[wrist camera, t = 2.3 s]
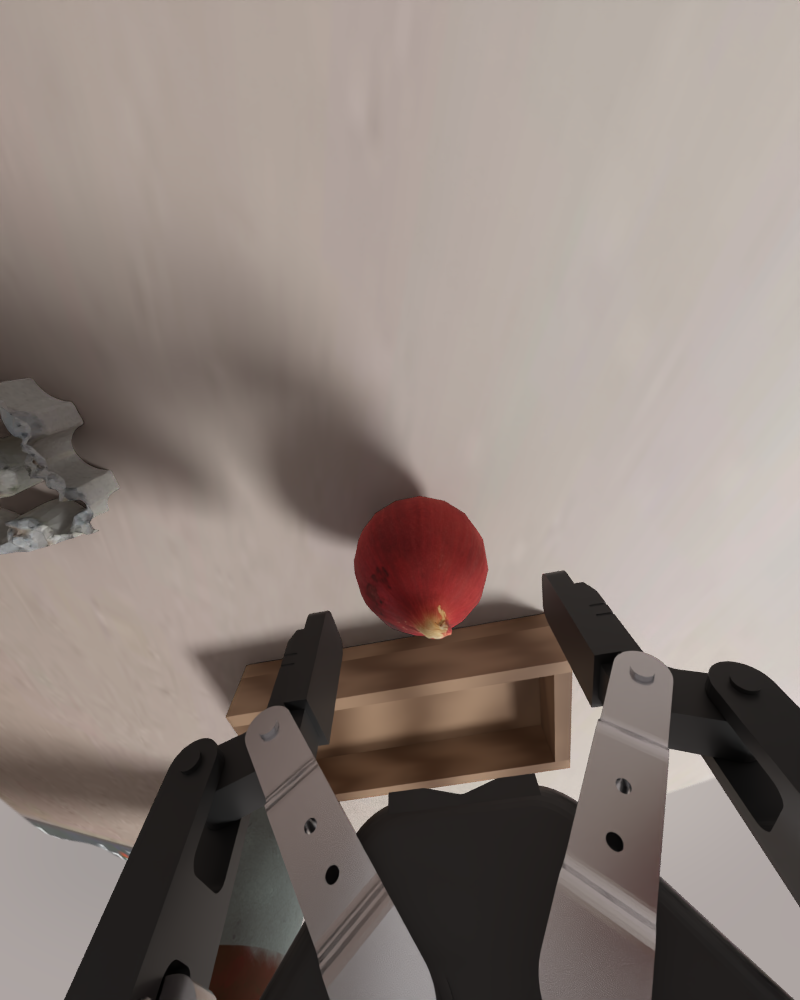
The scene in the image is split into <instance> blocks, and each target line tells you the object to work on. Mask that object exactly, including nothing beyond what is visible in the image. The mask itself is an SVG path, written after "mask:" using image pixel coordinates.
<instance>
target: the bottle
mask: <svg viewBox="0 0 800 1000" xmlns="http://www.w3.org/2000/svg"><path fill="white" fill-rule="evenodd" d="M302 921H303V913H302V910H301V908H300V905H299V902H298V899H297V897H296V894H295V891H294V888H293V885H292V883H291V880H290V877H289V874H288V872H287V869H286V866H285V863H284V860H283V858H282V855H281V852H280V849H279V846H278V844H277V841H276V838H275V835H274V833H273V830H272V827H271V824H270V821H269V819H268V816H267V813H266V810H265V806H263V807H261V808H259V809H257V810H255V811H253V812H252V813H251V816H250V820H249V824H248V828H247V832H246V837H245V841H244V845H243V849H242V853H241V857H240V861H239V865H238V870H237V874H236V878H235V882H234V886H233V890H232V894H231V898H230V902H229V907H228V911H227V915H226V919H225V923H224V927H223V931H222V935H221V940H220V944H219V948H218V952H217V956H216V960H215V964H214V968H213V973H212V977H211V981H210V985H209V990H210V991H212V993H213V994H214V995H215V997H216V1000H259V999H260V997H261V996H262V994H263V992H264V990H265V989H266V987H267V985H268V984H269V982H270V980H271V978H272V977H273V975H274V973H275V971H276V970H277V968H278V966H279V965H280V963H281V961H282V959H283V958H284V956H285V954H286V953H287V951H288V949H289V947H290V946H291V944H292V942H293V940H294V939H295V937H296V935H297V934H298V932H299V930H300V928H301V924H302Z"/></svg>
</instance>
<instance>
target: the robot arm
mask: <svg viewBox="0 0 800 1000" xmlns="http://www.w3.org/2000/svg"><path fill="white" fill-rule="evenodd" d="M542 594H543V609H544V613H545V617H546V619H547V622H548V624H549V626H550V628H551V630H552V632H553V634H554V636H555V638H556V639H557V641H558V643H559V645H560V647H561V649H562V651H563V653H564V655H565V657H566V659H567V661H568V663H569V665H570V667H571V669H572V670H573V672H574V674H575V676H576V678H577V680H578V682H579V684H580V686H581V688H582V690H583V692H584V694H585V696H586V698H587V700H588V701H589V703H590V705H591V707H599V706H603V709H602V713H601V717H600V719H598V722H597V725H596V729H595V733H594V737H593V741H592V746H591V750H590V754H589V758H588V763H587V767H586V771H585V775H584V779H583V784H582V788H581V792H580V796H579V800H578V802H577V801H576V800H574V799H572V798H571V797H569V796H567V795H565V794H563V793H561V792H559V791H557V790H554V789H551V788H548V787H544V786H538V783H537V780H536V777H535V773H532V774H524V775H517V776H509V777H502V778H497V779H495V780H493V781H490V782H488V783H486V784H484V785H482V786H480V787H478V788H476V789H473V790H471V791H469V792H467V793H465V794H455V793H449V792H444V791H438V790H432V789H427V788H419V789H411V790H404V791H396V792H389V801H388V806H386V807H384V808H383V809H381V810H380V811H378V812H377V813H375V814H374V815H373V816H372V817H370V818H369V819H368V820H367V821H366V822H365V823H364V825H363V826H362V827H361V828H360V829H359V831H358V832H357V833H356V832H355V830H354V828H353V826H352V825H351V823H350V821H349V819H348V817H347V815H346V814H345V812H344V810H343V808H342V806H341V804H340V803H339V801H338V799H337V797H336V795H335V793H334V792H333V790H332V788H331V786H330V784H329V782H328V781H327V779H326V777H325V775H324V773H323V771H322V770H321V768H320V766H319V764H318V762H317V760H316V755H317V750H318V746H322V745H329V743H330V736H331V730H332V723H333V716H334V710H335V703H336V696H337V690H338V683H339V676H340V670H341V663H342V656H343V646H342V640H341V637H340V635H339V632H338V630H337V627H336V624H335V622H334V619H333V617H332V614H331V612H330V611H324V612H318V613H312V614H309V615H308V618H307V621H306V624H305V628H304V629H302V630H297V631H296V632H295V634H294V635H293V636H292V638H291V639H290V640H289V642H288V644H287V647H286V651H285V654H284V657H283V660H282V663H281V668H280V669H279V672H278V675H277V678H276V681H275V684H274V687H273V690H272V693H271V697H270V700H269V703H268V706H267V708H266V709H265V710H264V711H262V712H261V713H260V714H258V715H257V716H256V717H255V718H254V720H253V721H252V722H251V724H250V725H249V727H248V729H247V731H246V732H245V733H243V734H241V735H239V736H237V737H235V738H233V739H231V740H229V741H226V742H224V743H222V744H220V745H217V744H216V743H215V741H213V740H212V739H209V738H204V739H199V740H197V741H195V742H193V743H191V744H190V745H188V746H187V747H185V748H184V749H183V750H182V751H181V752H180V753H179V754H178V755H177V757H176V758H175V759H174V761H173V762H172V764H171V766H170V767H169V770H168V772H167V774H166V776H165V778H164V781H163V783H162V785H161V787H160V789H159V792H158V794H157V796H156V798H155V800H154V803H153V805H152V807H151V809H150V811H149V814H148V816H147V818H146V820H145V822H144V825H143V827H142V829H141V831H140V833H139V836H138V838H137V840H136V842H135V845H134V847H133V849H132V851H131V853H130V856H129V858H128V860H127V862H126V864H125V867H124V869H123V871H122V873H121V875H120V878H119V880H118V882H117V884H116V887H115V889H114V891H113V893H112V895H111V897H110V900H109V902H108V904H107V906H106V908H105V911H104V913H103V915H102V917H101V920H100V922H99V924H98V926H97V928H96V931H95V933H94V935H93V937H92V940H91V942H90V944H89V946H88V948H87V950H86V953H85V955H84V957H83V959H82V962H81V964H80V966H79V968H78V970H77V972H76V975H75V977H74V979H73V981H72V983H71V986H70V988H69V990H68V993H67V994H66V997H65V999H64V1000H216V997H215V995H214V994H213V993H212V991H210V990H209V985H210V981H211V977H212V973H213V968H214V964H215V960H216V956H217V952H218V948H219V944H220V940H221V935H222V931H223V927H224V923H225V919H226V915H227V911H228V907H229V902H230V898H231V894H232V890H233V886H234V882H235V878H236V874H237V870H238V865H239V861H240V857H241V853H242V849H243V845H244V841H245V837H246V832H247V828H248V824H249V820H250V816H251V813H252V812H253V811H255V810H257V809H259V808H261V807H263V806H265V810H266V813H267V816H268V819H269V821H270V824H271V827H272V830H273V833H274V835H275V838H276V841H277V844H278V846H279V849H280V852H281V855H282V858H283V860H284V863H285V866H286V869H287V872H288V874H289V877H290V880H291V883H292V885H293V888H294V891H295V894H296V897H297V899H298V902H299V905H300V908H301V910H302V913H303V916H304V919H305V922H304V923H303V925H302V927H301V928H300V930H299V932H298V934H297V935H296V937H295V939H294V940H293V942H292V944H291V946H290V947H289V949H288V951H287V953H286V954H285V956H284V958H283V959H282V961H281V963H280V965H279V966H278V968H277V970H276V971H275V973H274V975H273V977H272V978H271V980H270V982H269V984H268V985H267V987H266V989H265V990H264V992H263V994H262V996H261V997H260V999H259V1000H794V999H793V998H792V997H791V996H790V995H789V994H787V993H786V992H785V991H784V990H783V989H782V988H781V987H780V986H779V985H778V984H777V983H776V982H774V981H773V980H772V979H771V978H770V977H769V976H768V975H767V974H766V973H765V972H763V970H761V969H760V968H759V967H758V966H757V965H756V964H755V963H754V962H753V961H752V960H751V959H749V958H748V957H747V956H746V955H745V954H744V953H743V952H742V951H741V950H740V949H739V948H738V947H736V946H735V945H734V944H733V943H732V942H731V941H730V940H729V939H728V938H726V936H724V935H723V934H722V933H721V932H720V931H719V930H718V929H717V928H716V927H715V926H714V925H713V924H711V923H710V922H709V921H708V920H707V919H706V918H705V917H704V916H703V915H702V914H700V913H699V912H698V911H697V910H696V909H695V908H694V907H693V906H692V905H691V904H690V903H689V902H687V901H686V900H685V899H684V898H683V897H682V896H681V895H680V894H679V893H678V892H677V891H676V890H674V889H673V888H672V887H671V886H670V885H669V884H668V883H667V882H666V881H664V880H663V878H661V877H660V865H661V852H662V839H663V827H664V814H665V801H666V789H667V777H668V764H669V749H674V750H679V751H685V752H690V753H695V754H700V755H701V756H702V757H703V759H704V760H705V762H706V763H707V765H708V766H709V768H710V769H711V771H712V773H713V774H714V776H715V777H716V779H717V780H718V782H719V783H720V785H721V786H722V788H723V789H724V791H725V793H726V794H727V796H728V797H729V799H730V800H731V802H732V803H733V805H734V806H735V808H736V810H737V811H738V813H739V814H740V816H741V817H742V819H743V820H744V822H745V823H746V825H747V826H748V828H749V830H750V831H751V833H752V834H753V836H754V837H755V839H756V840H757V842H758V843H759V845H760V846H761V848H762V850H763V851H764V853H765V854H766V856H767V857H768V859H769V860H770V862H771V863H772V865H773V866H774V868H775V870H776V871H777V872H778V874H779V876H780V877H781V879H782V880H783V882H784V883H785V885H786V886H787V888H788V890H789V891H790V892H791V894H792V896H793V897H794V899H795V900H796V902H797V903H798V905H799V907H800V708H799V707H798V706H797V705H796V704H795V703H794V702H793V701H792V700H791V699H790V698H789V697H788V696H787V695H786V694H785V693H784V692H783V691H782V690H781V689H780V687H779V686H778V685H777V684H776V683H775V682H774V681H772V680H771V679H770V678H769V677H768V676H766V675H765V674H764V673H762V672H760V671H759V670H757V669H755V668H753V667H750V666H748V665H745V664H741V663H737V662H729V661H726V662H718V663H716V664H714V665H712V666H711V668H710V669H709V672H708V673H702V672H694V671H686V670H678V669H674V668H670V667H667V666H666V665H665V664H664V663H663V662H661V661H660V660H659V659H657V658H656V657H654V656H652V655H650V654H647V653H644V652H643V651H642V650H641V649H640V647H639V646H638V645H637V643H636V642H635V641H634V639H633V638H632V637H631V635H630V634H629V633H628V631H627V630H626V629H625V627H624V626H623V625H622V624H621V622H620V621H619V620H618V618H617V617H616V616H615V614H613V612H612V610H611V609H610V608H609V606H608V605H606V603H605V601H604V600H603V599H602V597H601V596H600V595H599V593H598V592H597V591H596V590H595V589H593V588H592V587H590V586H588V585H587V584H585V583H584V582H581V583H575V584H574V583H573V581H572V580H571V578H570V577H569V576H568V574H567V573H566V572H565V571H557V572H551V573H546V574H543V575H542ZM668 748H669V749H668Z"/></svg>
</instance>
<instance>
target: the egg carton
mask: <svg viewBox="0 0 800 1000" xmlns="http://www.w3.org/2000/svg"><path fill="white" fill-rule="evenodd" d="M0 414H1V419H2V420H3V422H4V424H5V426H6V428H7V429H8V431H9V432H10V433H11V434H12V436H8V437H5V438H1V439H0V498H3V497H11V496H13V495H15V494H17V493H19V492H21V491H23V490H25V489H27V488H29V487H31V486H33V485H35V484H38V483H40V482H42V481H44V480H45V481H46V485H47V486H48V488H50V489H55V490H57V491H58V493H59V499H54V500H51V501H49V502H46V503H44V504H42V505H40V506H38V507H36V508H34V509H33V510H31V511H29V512H27V513H25V514H23V515H21V516H20V515H19V514H17V513H15V512H13V511H10V510H7V509H3V508H0V554H7V553H13V552H30V551H33V550H36V549H39V548H43V547H46V546H50V545H53V544H56V543H59V542H61V541H64V540H68V539H71V538H74V537H77V536H80V535H82V534H86V535H87V534H92V533H94V532H97V531H99V530H95V529H93V527H92V525H91V524H90V521H91V519H92V518H94V517H95V516H97V515H100V514H102V513H105V512H107V511H108V510H109V508H108V504H107V501H108V497H109V496H110V495H111V493H113V492H115V491H116V490H118V489H119V488H120V487H119V485H118V483H117V481H116V479H115V477H114V475H113V473H112V472H111V471H110V470H102V469H98V468H94V467H92V466H90V465H88V464H87V463H86V462H84V461H83V460H82V459H81V458H80V457H79V456H78V455H77V454H76V453H75V451H74V449H73V446H72V442H71V440H72V435H73V433H74V431H75V429H76V428H77V427H79V426H81V425H82V424H83V420H82V418H81V417H80V415H79V413H78V412H77V410H76V407H75V406H74V404H73V403H72V402H70V401H62V400H59V399H57V398H54V397H52V396H50V395H48V394H47V393H46V392H44V391H43V390H42V389H41V388H40V387H39V386H38V385H37V384H36V383H35V381H34V380H33V379H32V378H24V379H16V380H11V381H4V382H0ZM73 500H81V501H83V502H84V503H85V504H86V506H87V508H86V509H85V508H84V507H83V506H81V505H80V504H78V503H76V502H74V501H73Z"/></svg>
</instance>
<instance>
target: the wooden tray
mask: <svg viewBox="0 0 800 1000" xmlns="http://www.w3.org/2000/svg"><path fill="white" fill-rule="evenodd" d="M282 660H283V659H280V660H274V661H268V662H263V663H257V664H251V665H247V666H246V668H245V671H244V673H243V676H242V678H241V681H240V683H239V685H238V688H237V690H236V693H235V695H234V698H233V700H232V703H231V705H230V708H229V710H228V713H227V715H226V718H227V720H228V721H229V723H230V724H231V726H232V727H233V728H234V730H235V731H236V733H237V734H238V736H239V735H241V734H243V733H245V732H246V731H247V729H248V727H249V725H250V724H251V722H252V721H253V720H254V718H255V717H256V716H257V715H258V714H260V713H261V712H262V711H264V710H265V709H266V708H267V706H268V703H269V700H270V697H271V693H272V690H273V687H274V684H275V681H276V678H277V675H278V672H279V669H280V668H281V663H282ZM571 701H572V669H571V667H570V665H569V663H568V661H567V659H566V657H565V655H564V653H563V651H562V649H561V647H560V645H559V643H558V641H557V639H556V638H555V636H554V634H553V632H552V630H551V628H550V626H549V624H548V622H547V619H546V617H545V614H539V615H534V616H528V617H522V618H516V619H511V620H505V621H499V622H493V623H488V624H482V625H476V626H470V627H465V628H459V629H453V630H452V634H451V635H448V636H445V637H444V638H442V639H430V638H427V637H426V636H413V637H407V638H401V639H395V640H390V641H384V642H378V643H372V644H366V645H361V646H355V647H349V648H343V656H342V663H341V670H340V676H339V683H338V690H337V696H336V703H335V710H334V716H333V723H332V730H331V736H330V743H329V745H322V746H318V750H317V755H316V760H317V762H318V764H319V766H320V768H321V770H322V771H323V773H324V775H325V777H326V779H327V781H328V782H329V784H330V786H331V788H332V790H333V792H334V793H335V795H336V797H337V799H338V801H339V802H340V801H347V800H354V799H360V798H367V797H374V796H381V795H388V794H389V792H396V791H404V790H411V789H419V788H427V789H429V788H436V787H442V786H449V785H456V784H463V783H470V782H476V781H483V780H490V779H497V778H502V777H509V776H517V775H524V774H531V773H538V772H545V771H552V770H558V769H565V768H570V744H571Z"/></svg>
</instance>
